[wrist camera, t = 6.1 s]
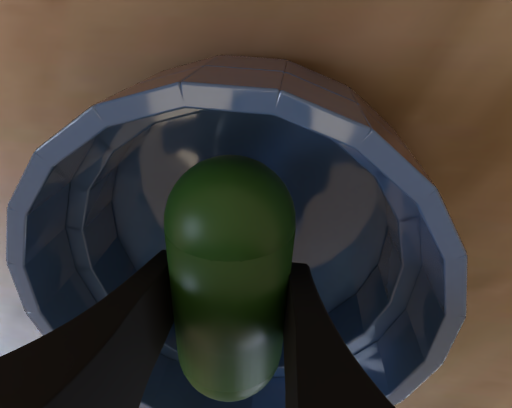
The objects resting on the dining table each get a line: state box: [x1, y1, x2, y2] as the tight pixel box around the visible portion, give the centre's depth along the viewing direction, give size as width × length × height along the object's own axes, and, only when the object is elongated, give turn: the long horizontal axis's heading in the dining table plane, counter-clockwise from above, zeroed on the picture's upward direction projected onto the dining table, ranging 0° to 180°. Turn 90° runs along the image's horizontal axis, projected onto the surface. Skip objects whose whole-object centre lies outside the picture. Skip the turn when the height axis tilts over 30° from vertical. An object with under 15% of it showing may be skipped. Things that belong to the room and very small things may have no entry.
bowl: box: [6, 55, 467, 408], centre depth 14 cm, size 14×14×5 cm
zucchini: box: [164, 155, 296, 402], centre depth 13 cm, size 10×4×4 cm, turn 178°
